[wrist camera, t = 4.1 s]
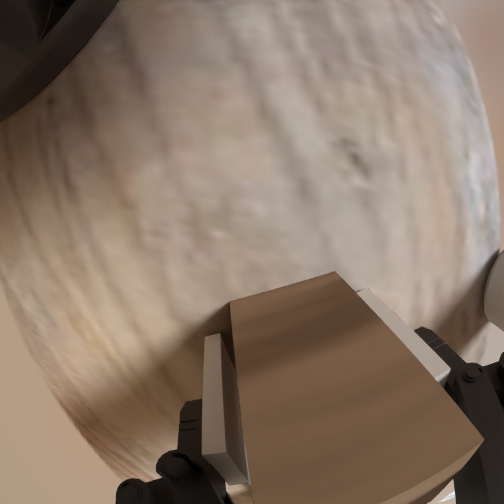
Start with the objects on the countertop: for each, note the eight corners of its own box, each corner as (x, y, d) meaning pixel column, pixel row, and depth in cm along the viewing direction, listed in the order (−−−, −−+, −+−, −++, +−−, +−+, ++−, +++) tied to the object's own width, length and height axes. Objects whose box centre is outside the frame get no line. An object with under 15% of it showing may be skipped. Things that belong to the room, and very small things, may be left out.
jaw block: (229, 301, 12) (258, 537, 3) (335, 271, 13) (484, 439, 3) (255, 378, 14) (292, 553, 5) (343, 351, 14) (431, 501, 5)
